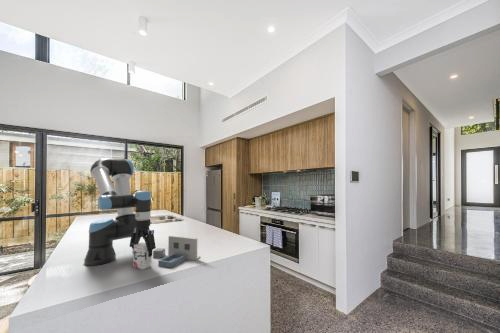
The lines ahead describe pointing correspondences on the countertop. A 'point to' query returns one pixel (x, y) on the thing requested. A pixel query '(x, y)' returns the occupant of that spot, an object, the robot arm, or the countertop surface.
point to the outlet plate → (183, 247)
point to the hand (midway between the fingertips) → (142, 261)
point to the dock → (172, 260)
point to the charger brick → (158, 253)
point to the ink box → (140, 256)
